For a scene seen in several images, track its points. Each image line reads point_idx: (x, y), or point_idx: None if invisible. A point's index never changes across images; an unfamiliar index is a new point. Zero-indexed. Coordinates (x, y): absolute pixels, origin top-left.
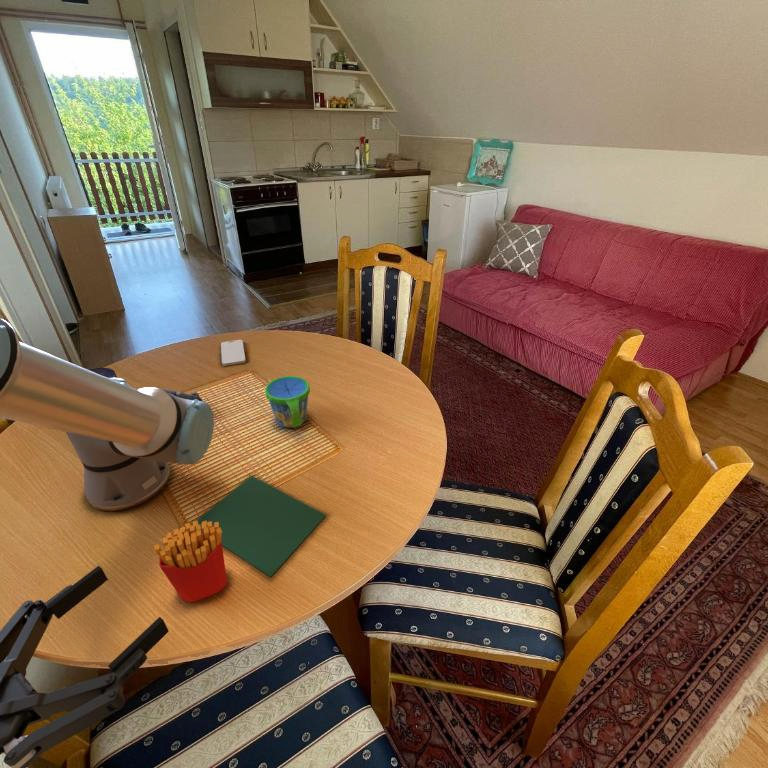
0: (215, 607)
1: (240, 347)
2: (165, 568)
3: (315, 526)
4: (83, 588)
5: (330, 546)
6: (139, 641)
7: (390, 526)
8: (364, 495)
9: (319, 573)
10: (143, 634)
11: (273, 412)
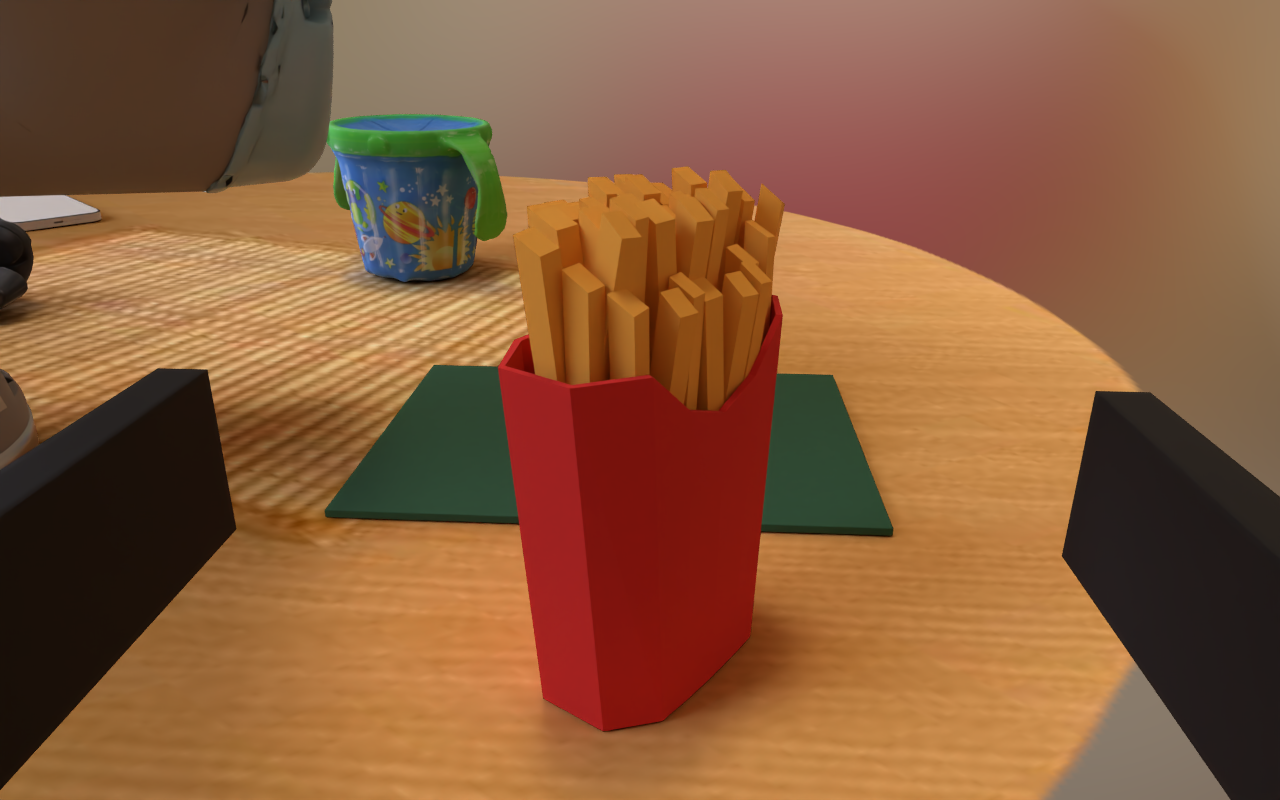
0: (807, 690)
1: (53, 196)
2: (606, 404)
3: (841, 398)
4: (113, 521)
5: (957, 424)
6: (1264, 493)
7: (1044, 357)
8: (872, 331)
9: (1033, 478)
10: (1197, 465)
11: (374, 220)
